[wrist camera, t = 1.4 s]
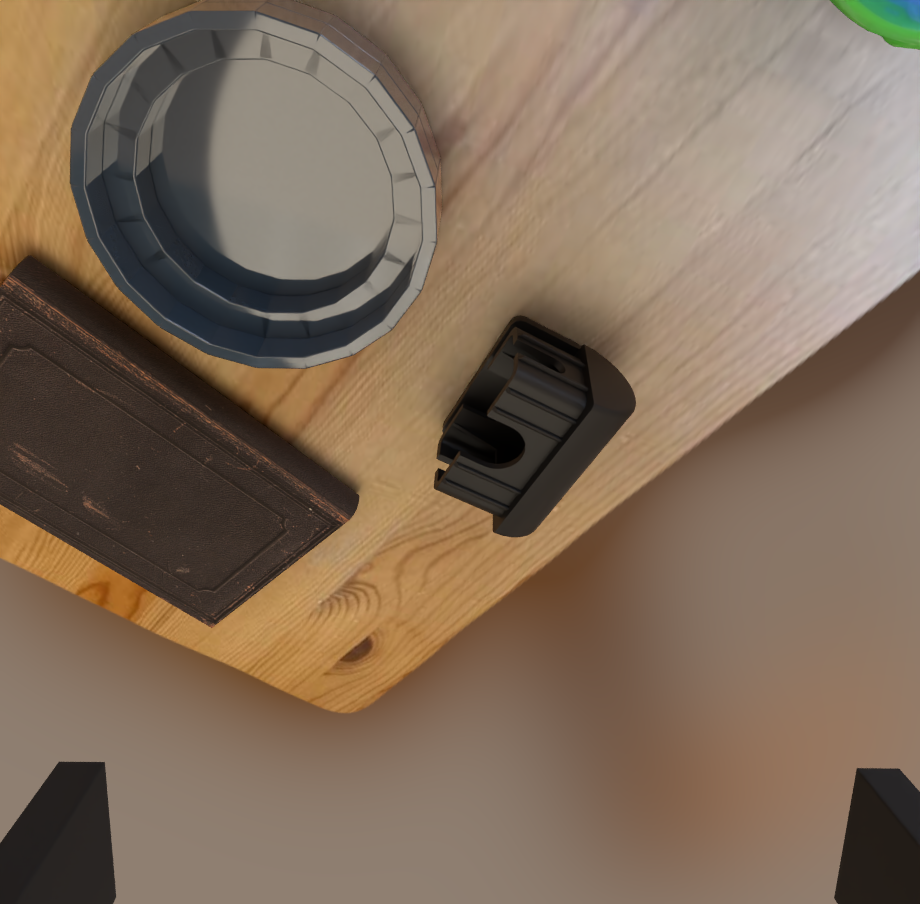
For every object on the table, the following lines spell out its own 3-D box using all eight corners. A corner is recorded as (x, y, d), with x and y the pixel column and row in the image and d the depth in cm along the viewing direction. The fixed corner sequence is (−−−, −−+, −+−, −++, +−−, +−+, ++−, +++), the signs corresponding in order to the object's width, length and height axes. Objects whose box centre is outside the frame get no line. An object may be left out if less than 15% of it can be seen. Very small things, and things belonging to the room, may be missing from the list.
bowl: (39, 141, 40) (-7, 172, 36) (280, -99, 33) (253, -90, 30) (274, 375, 48) (256, 419, 44) (507, 216, 41) (507, 253, 38)
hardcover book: (220, 604, 60) (211, 628, 58) (-87, 418, 51) (-109, 441, 49) (361, 490, 53) (356, 514, 51) (33, 249, 43) (13, 268, 41)
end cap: (535, 478, 52) (539, 554, 46) (436, 433, 50) (428, 507, 44) (628, 360, 46) (645, 431, 41) (520, 304, 44) (523, 370, 39)
